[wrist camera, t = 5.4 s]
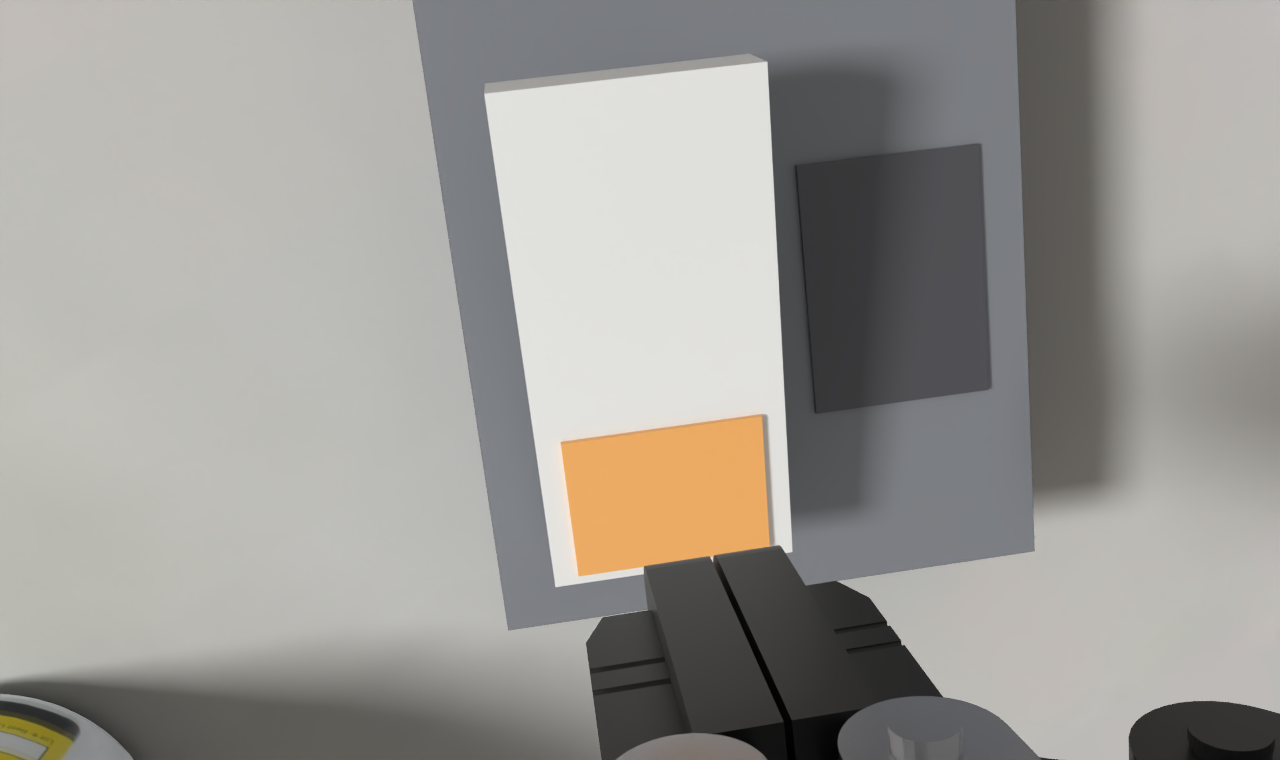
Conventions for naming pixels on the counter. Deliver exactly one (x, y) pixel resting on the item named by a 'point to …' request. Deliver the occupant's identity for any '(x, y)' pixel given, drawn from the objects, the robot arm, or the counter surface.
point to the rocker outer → (647, 309)
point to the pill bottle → (51, 733)
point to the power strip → (794, 267)
